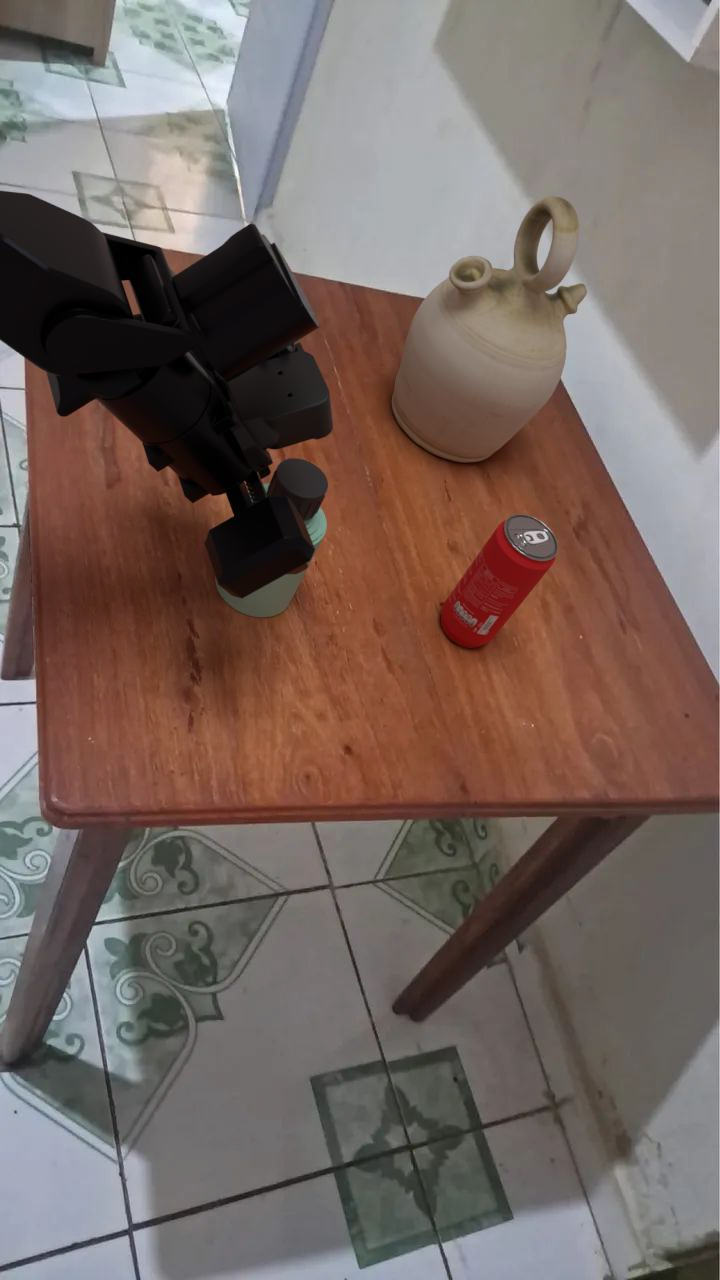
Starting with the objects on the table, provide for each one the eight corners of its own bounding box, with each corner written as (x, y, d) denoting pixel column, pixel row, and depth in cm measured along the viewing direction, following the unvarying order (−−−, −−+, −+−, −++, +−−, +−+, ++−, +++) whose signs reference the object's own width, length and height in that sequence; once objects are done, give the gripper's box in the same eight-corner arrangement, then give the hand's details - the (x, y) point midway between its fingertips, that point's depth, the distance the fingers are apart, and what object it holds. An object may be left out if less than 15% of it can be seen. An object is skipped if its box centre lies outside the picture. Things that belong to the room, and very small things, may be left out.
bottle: (207, 602, 74) (249, 497, 65) (223, 544, 78) (264, 438, 69) (285, 627, 75) (337, 528, 66) (297, 569, 79) (347, 468, 70)
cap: (261, 511, 68) (272, 486, 66) (270, 475, 70) (280, 450, 68) (313, 529, 68) (325, 505, 66) (320, 493, 71) (331, 469, 69)
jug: (372, 447, 92) (491, 215, 74) (379, 353, 102) (486, 127, 84) (513, 495, 96) (660, 286, 78) (507, 401, 106) (636, 194, 87)
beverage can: (426, 608, 82) (489, 514, 73) (472, 599, 85) (539, 508, 76) (454, 656, 80) (523, 566, 71) (500, 646, 83) (573, 558, 74)
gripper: (335, 447, 51) (424, 567, 65) (240, 234, 60) (336, 379, 74) (163, 546, 53) (285, 642, 67) (95, 326, 62) (215, 450, 76)
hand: (283, 520), depth 71 cm, fingers open, 9 cm apart
